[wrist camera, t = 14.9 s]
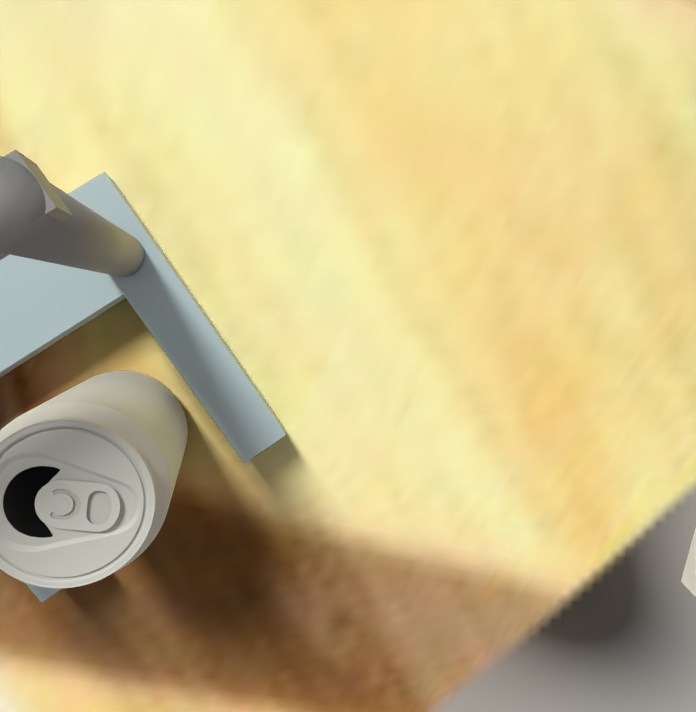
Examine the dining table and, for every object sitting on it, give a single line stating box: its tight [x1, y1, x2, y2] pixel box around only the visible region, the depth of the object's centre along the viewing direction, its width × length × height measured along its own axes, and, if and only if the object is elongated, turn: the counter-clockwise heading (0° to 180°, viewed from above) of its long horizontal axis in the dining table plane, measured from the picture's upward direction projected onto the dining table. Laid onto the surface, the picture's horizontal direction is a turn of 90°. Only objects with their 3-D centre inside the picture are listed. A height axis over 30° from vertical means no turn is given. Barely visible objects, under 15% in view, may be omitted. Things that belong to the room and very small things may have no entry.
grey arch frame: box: [0, 150, 286, 603], centre depth 22 cm, size 15×14×18 cm
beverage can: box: [0, 370, 188, 589], centre depth 25 cm, size 6×6×12 cm
